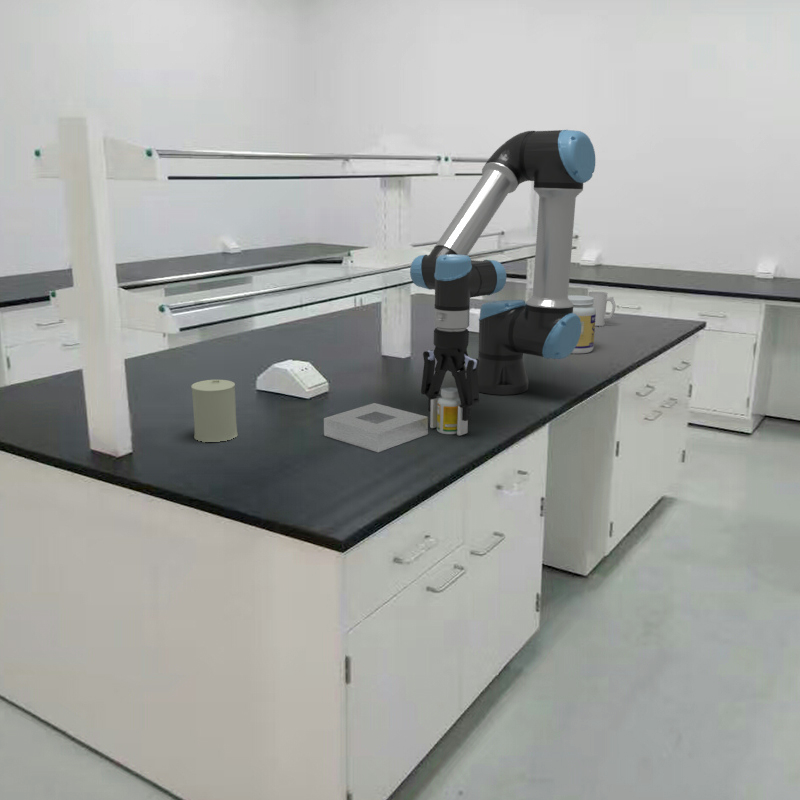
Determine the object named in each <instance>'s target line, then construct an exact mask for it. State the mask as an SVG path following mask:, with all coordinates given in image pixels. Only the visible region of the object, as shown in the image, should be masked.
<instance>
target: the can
mask: <svg viewBox="0 0 800 800" xmlns="http://www.w3.org/2000/svg"><path fill="white" fill-rule="evenodd" d="M190 387H191V393H192V394H191V395H192V398H191V399H192V406H193V407H192V409H193V412H192V413H193V423H194V426H193V427H194V428H193V429H194V435H193V437H194V440H196V441H197V440H198V442H200V441H202V442H201V443H205V442H220V441H226V442H228V441H227V440H230V441H232V440H234V439H236V438H237V437H238V434H239V433H238V427H237V412H236V411H237V410H236V383H235V382H233V381H232V380H227V379H207V380H206V379H205V380H199V381H197V382H194V383H193V384H191V385H190ZM235 437H236V438H235ZM233 438H234V439H233ZM231 439H232V440H231ZM220 443H221V442H220Z"/></svg>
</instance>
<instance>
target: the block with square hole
mask: <svg viewBox="0 0 800 800" xmlns="http://www.w3.org/2000/svg"><path fill="white" fill-rule="evenodd" d="M428 427H429V417H428V416H427V415H426V416H425V415H422V414H418V413H415V412H410V411H407V410H402V409H400V408H396V407H395V408H394V407H391V406H387V405H383V404H380V403H375V402H373V403H369V404H365V405H362V406H360V407H356V408H353V409H350V410H347V411H344V412H339V413H337V414H334V415H330V416H327V417H324V418H323V436H324V437H328V438H329V439H330V438H331V439H333V440H337V441H340V442H343V443H347V444H349V445H352V446H355V447H359V448H362V449H365V450H369V451H372V452H374V453H380V452H383V451H385V450H389V449H391V448H394V447H396V446H399V445H402V444H404V443H408V442H411V441H413V440H415V439H419V438H422V437H424V436H427V435H428V434H429V430H428V429H429V428H428Z"/></svg>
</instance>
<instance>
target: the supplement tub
mask: <svg viewBox="0 0 800 800" xmlns="http://www.w3.org/2000/svg"><path fill="white" fill-rule="evenodd" d="M568 299H569V300H570V301H571V302H572V303H573V313H574V314H576V315H578V316H579V318H580V321H581V334H580V338H579V341H578V343H577V345H576V347H575V348H574V350H573V352H572V353H571V354H574V355H575V354H577V355H578V354H579V355H580V354H587V353H591V352H592V351H593V350H594V348H595V346H594V344H595V332H596V330H595V328H596V327H595V318H596V309H595V307H593V306H592V305H593V304H594V298H593V297H589V296H588V295H582V294H581V295H579V294H578V295H576V294H574V295H573V294H572V295H571V294H568Z"/></svg>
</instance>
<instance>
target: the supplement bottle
mask: <svg viewBox="0 0 800 800" xmlns="http://www.w3.org/2000/svg"><path fill="white" fill-rule="evenodd" d="M440 396H441V397H439V399H438V404H437V427H436V431H437V432H438V433H439V434H442V435H457V424H458V406H459V405H461V402H460V398H459V394H458V390H457V387H452V386H451V387H449V386H448V387H443V388H442V387H441V388H440Z"/></svg>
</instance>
